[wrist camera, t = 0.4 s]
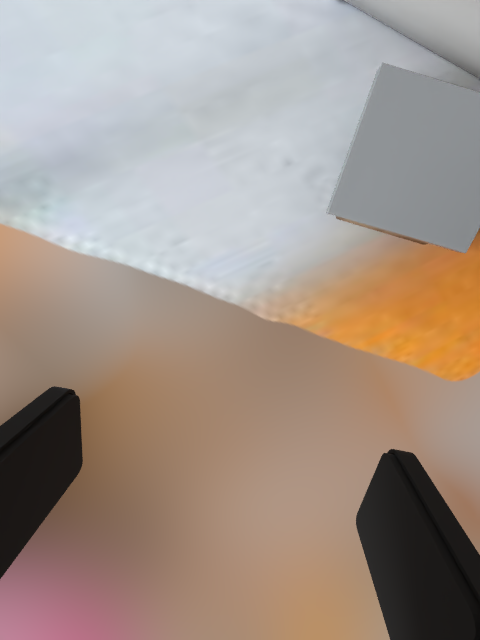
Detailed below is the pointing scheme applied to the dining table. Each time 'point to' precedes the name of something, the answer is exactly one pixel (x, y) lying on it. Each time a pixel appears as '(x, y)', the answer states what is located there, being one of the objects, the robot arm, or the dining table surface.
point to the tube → (434, 26)
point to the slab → (414, 161)
